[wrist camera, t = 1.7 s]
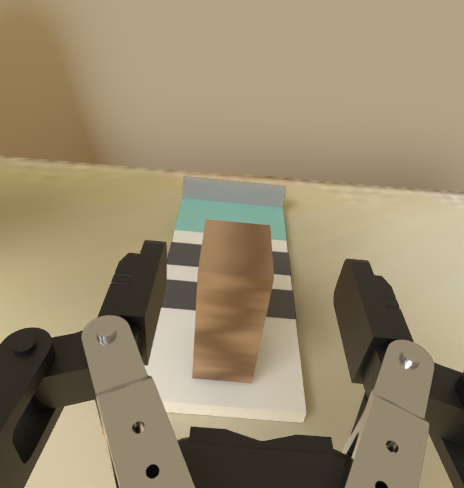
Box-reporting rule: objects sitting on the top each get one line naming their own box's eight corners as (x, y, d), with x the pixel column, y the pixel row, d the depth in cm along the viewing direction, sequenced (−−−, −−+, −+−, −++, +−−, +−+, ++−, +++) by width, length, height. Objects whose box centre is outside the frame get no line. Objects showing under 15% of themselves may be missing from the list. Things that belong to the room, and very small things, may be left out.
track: (133, 409, 33) (129, 377, 30) (183, 203, 58) (183, 176, 55) (303, 423, 34) (315, 392, 31) (280, 213, 58) (285, 186, 56)
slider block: (192, 378, 34) (197, 271, 26) (199, 323, 38) (205, 219, 31) (251, 383, 34) (274, 278, 26) (251, 327, 39) (270, 225, 31)
